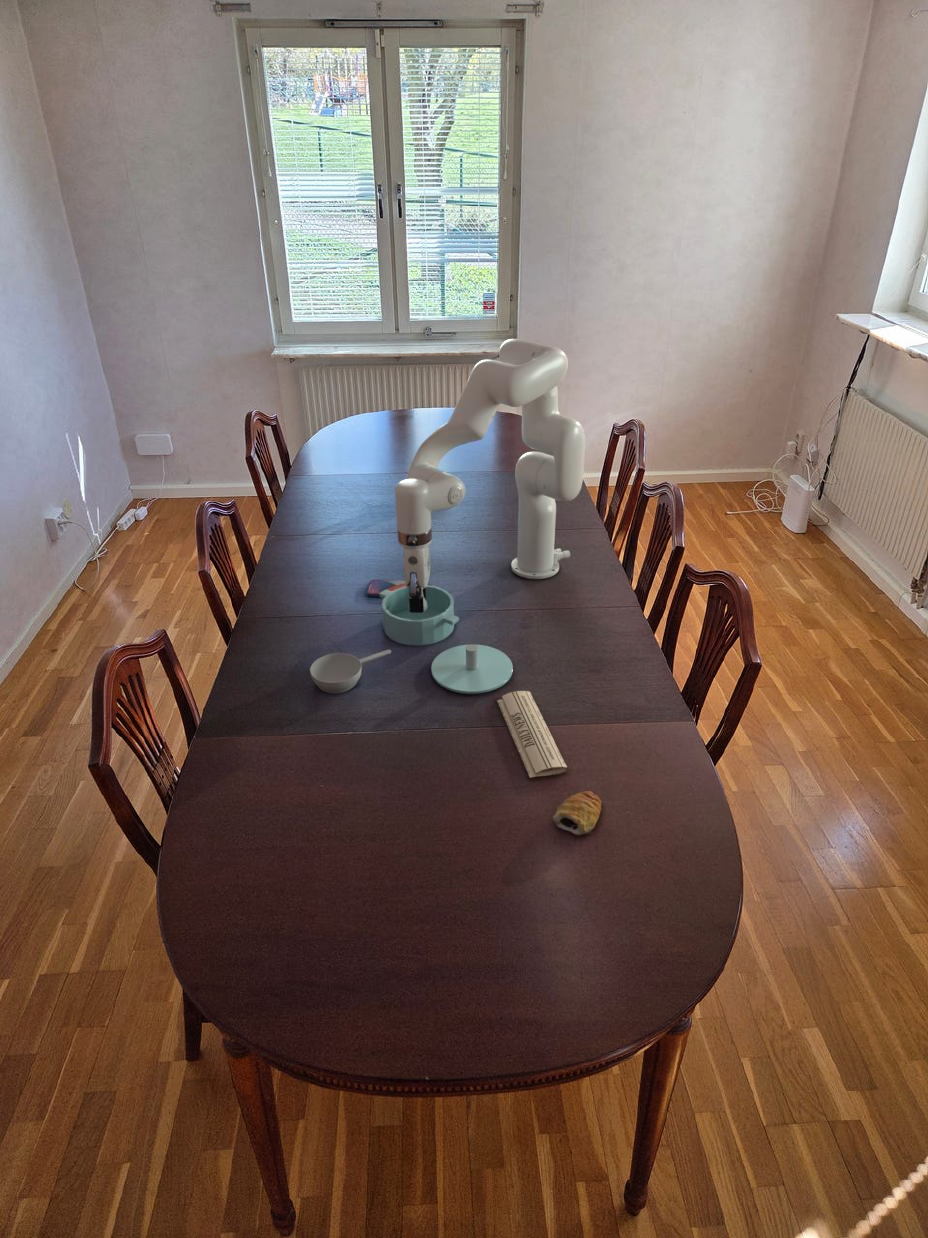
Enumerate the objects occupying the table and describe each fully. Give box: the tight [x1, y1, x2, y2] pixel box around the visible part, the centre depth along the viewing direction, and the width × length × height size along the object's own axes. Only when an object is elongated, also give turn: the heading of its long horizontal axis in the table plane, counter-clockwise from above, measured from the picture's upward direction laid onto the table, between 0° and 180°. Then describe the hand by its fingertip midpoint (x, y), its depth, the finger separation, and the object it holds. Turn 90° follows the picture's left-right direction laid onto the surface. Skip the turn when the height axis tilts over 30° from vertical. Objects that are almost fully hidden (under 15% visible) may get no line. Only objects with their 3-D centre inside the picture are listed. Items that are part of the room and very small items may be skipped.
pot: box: [379, 584, 460, 646], centre depth 191 cm, size 17×22×6 cm
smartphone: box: [366, 579, 405, 598], centre depth 207 cm, size 7×15×1 cm, turn 85°
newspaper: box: [496, 690, 568, 779], centre depth 158 cm, size 24×7×2 cm, turn 13°
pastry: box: [552, 790, 602, 836], centre depth 139 cm, size 9×7×4 cm
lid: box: [430, 643, 514, 695], centre depth 175 cm, size 18×18×6 cm
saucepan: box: [309, 648, 392, 694], centre depth 175 cm, size 11×18×4 cm, turn 118°
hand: (418, 605), depth 190 cm, fingers closed on rook chess piece, 4 cm apart
